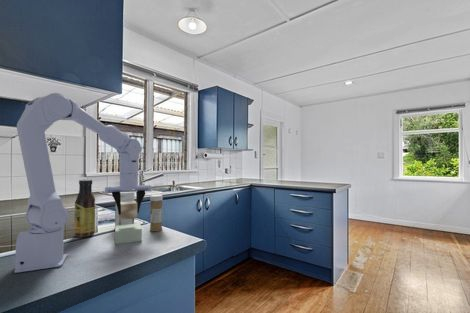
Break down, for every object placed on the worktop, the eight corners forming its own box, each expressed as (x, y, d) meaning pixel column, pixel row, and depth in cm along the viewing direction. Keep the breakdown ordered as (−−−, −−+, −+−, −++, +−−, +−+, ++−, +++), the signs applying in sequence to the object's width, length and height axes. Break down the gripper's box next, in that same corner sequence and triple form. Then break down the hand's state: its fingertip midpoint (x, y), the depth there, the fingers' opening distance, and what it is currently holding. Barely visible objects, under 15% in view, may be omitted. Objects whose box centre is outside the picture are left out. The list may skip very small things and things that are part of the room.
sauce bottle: (73, 234, 89) (74, 179, 89) (93, 231, 93) (94, 178, 93) (75, 239, 84) (75, 180, 84) (96, 236, 88) (96, 179, 88)
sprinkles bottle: (151, 228, 98) (151, 194, 98) (163, 228, 98) (163, 194, 98) (148, 231, 93) (148, 196, 93) (161, 231, 94) (161, 195, 94)
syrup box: (129, 225, 103) (130, 189, 103) (134, 228, 98) (134, 191, 98) (114, 227, 99) (115, 190, 99) (118, 230, 94) (119, 192, 94)
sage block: (115, 244, 80) (115, 231, 80) (115, 236, 87) (115, 225, 87) (141, 240, 83) (141, 228, 83) (139, 234, 91) (140, 223, 91)
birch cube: (121, 219, 82) (121, 204, 82) (120, 216, 86) (120, 202, 86) (137, 218, 84) (137, 203, 84) (135, 215, 89) (135, 201, 89)
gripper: (105, 174, 78) (104, 217, 78) (152, 173, 85) (152, 213, 85) (105, 173, 85) (104, 213, 85) (149, 172, 91) (149, 209, 91)
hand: (128, 213), depth 85 cm, fingers closed on birch cube, 5 cm apart
